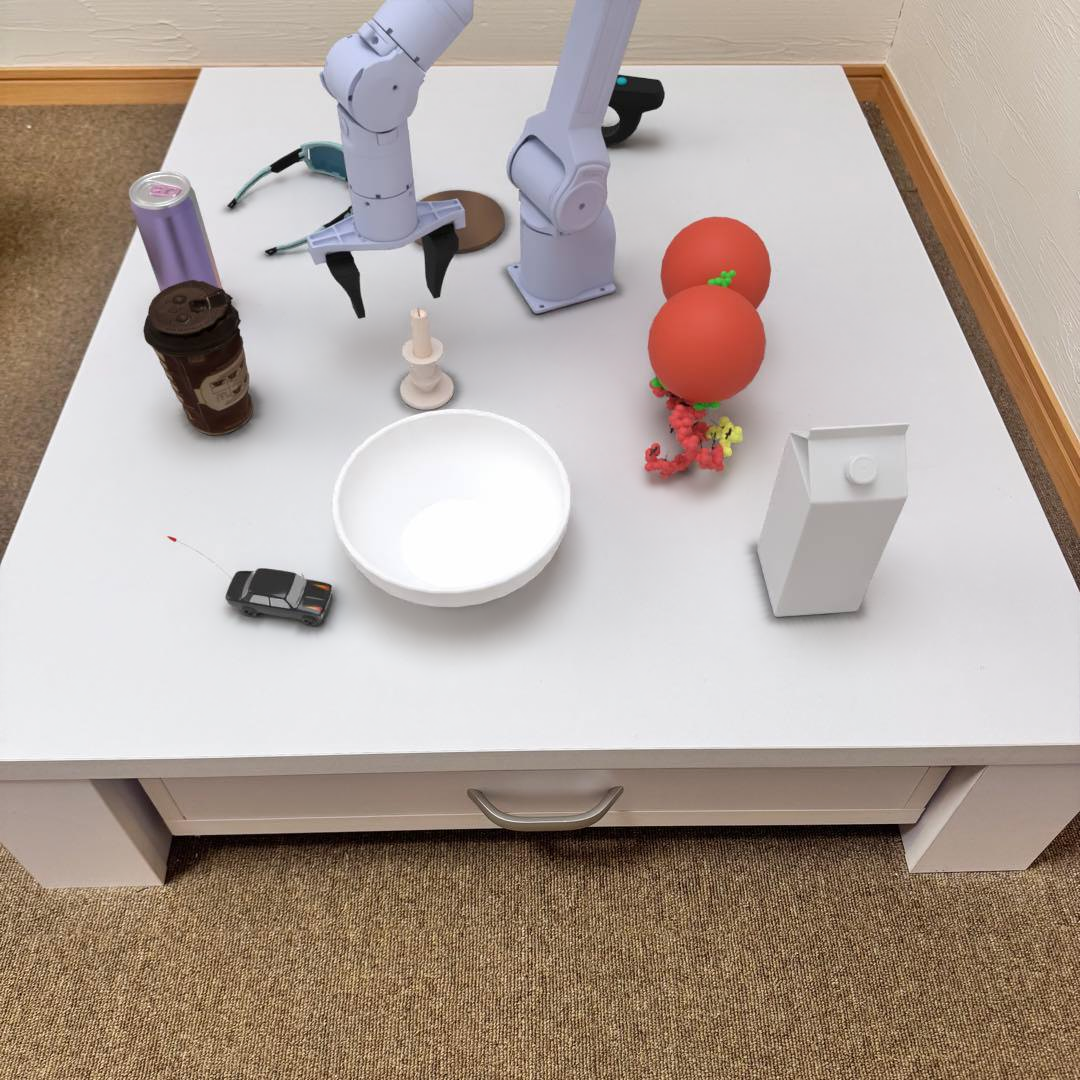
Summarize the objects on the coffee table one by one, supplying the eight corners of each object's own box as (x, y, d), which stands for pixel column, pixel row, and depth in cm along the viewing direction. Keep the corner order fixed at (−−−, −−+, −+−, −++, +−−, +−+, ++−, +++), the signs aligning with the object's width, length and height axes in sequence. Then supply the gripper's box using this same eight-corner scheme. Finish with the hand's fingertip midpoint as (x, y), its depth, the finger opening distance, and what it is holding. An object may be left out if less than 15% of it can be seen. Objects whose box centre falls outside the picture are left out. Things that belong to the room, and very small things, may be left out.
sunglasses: (394, 217, 121) (384, 181, 116) (279, 278, 117) (265, 243, 113) (336, 157, 128) (325, 121, 123) (226, 213, 124) (210, 178, 120)
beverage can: (215, 336, 109) (176, 211, 97) (160, 328, 109) (115, 203, 97) (237, 299, 112) (202, 173, 100) (184, 291, 113) (143, 166, 101)
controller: (563, 126, 132) (565, 47, 124) (661, 137, 131) (669, 59, 123) (556, 145, 130) (558, 66, 122) (656, 157, 128) (664, 78, 120)
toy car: (324, 631, 87) (308, 574, 81) (185, 609, 88) (158, 552, 82) (338, 593, 89) (323, 535, 83) (202, 572, 91) (177, 514, 84)
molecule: (627, 306, 111) (680, 179, 100) (724, 336, 113) (788, 214, 101) (608, 475, 95) (669, 345, 83) (722, 507, 96) (798, 384, 85)
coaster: (483, 185, 125) (483, 180, 124) (519, 239, 118) (519, 234, 118) (394, 207, 122) (393, 202, 121) (426, 263, 116) (426, 258, 115)
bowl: (396, 678, 84) (387, 630, 79) (311, 508, 95) (297, 455, 89) (610, 586, 90) (615, 534, 84) (507, 435, 100) (506, 380, 95)
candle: (423, 365, 106) (414, 281, 98) (464, 387, 104) (458, 303, 96) (389, 395, 104) (376, 312, 95) (430, 418, 102) (421, 335, 93)
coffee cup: (283, 393, 104) (256, 287, 93) (242, 453, 99) (208, 348, 89) (204, 373, 105) (169, 266, 95) (160, 430, 101) (117, 325, 90)
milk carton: (755, 549, 92) (799, 393, 77) (836, 544, 93) (894, 387, 78) (773, 618, 88) (823, 466, 73) (857, 612, 88) (924, 460, 73)
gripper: (443, 138, 97) (452, 259, 108) (288, 173, 94) (313, 295, 104) (470, 180, 93) (477, 301, 104) (310, 219, 90) (333, 340, 100)
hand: (396, 301), depth 104 cm, fingers open, 7 cm apart
